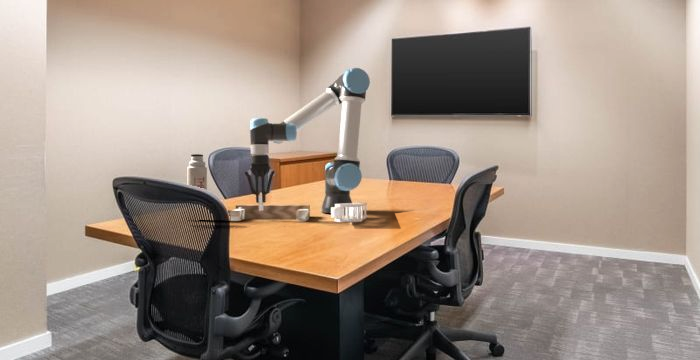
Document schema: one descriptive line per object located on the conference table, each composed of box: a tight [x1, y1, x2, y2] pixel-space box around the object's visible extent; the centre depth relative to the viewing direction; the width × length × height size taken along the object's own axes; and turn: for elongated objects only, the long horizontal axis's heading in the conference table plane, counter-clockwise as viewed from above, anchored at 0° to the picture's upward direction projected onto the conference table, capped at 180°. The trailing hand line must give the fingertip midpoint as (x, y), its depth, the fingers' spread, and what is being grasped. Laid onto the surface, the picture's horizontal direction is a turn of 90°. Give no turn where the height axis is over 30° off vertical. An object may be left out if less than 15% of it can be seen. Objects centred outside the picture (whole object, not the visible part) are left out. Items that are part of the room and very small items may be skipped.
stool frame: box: [227, 204, 311, 223], centre depth 220 cm, size 35×20×6 cm, turn 89°
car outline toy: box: [330, 202, 368, 223], centre depth 219 cm, size 20×11×7 cm, turn 137°
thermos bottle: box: [186, 153, 208, 191], centre depth 216 cm, size 8×8×28 cm
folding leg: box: [230, 207, 246, 222], centre depth 216 cm, size 15×4×5 cm, turn 1°
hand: (261, 210), depth 217 cm, fingers closed
